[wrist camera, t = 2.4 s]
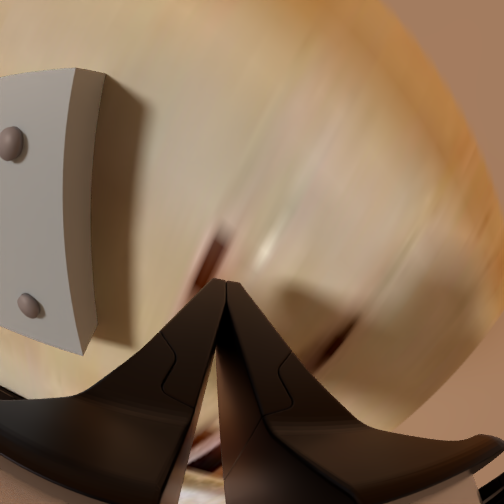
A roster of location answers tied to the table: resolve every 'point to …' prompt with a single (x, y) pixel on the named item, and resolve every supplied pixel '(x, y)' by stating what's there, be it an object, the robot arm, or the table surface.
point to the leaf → (48, 205)
